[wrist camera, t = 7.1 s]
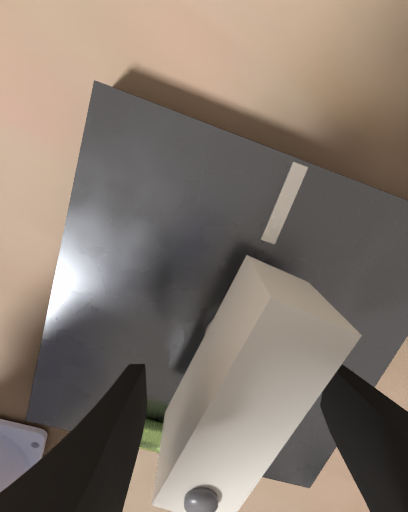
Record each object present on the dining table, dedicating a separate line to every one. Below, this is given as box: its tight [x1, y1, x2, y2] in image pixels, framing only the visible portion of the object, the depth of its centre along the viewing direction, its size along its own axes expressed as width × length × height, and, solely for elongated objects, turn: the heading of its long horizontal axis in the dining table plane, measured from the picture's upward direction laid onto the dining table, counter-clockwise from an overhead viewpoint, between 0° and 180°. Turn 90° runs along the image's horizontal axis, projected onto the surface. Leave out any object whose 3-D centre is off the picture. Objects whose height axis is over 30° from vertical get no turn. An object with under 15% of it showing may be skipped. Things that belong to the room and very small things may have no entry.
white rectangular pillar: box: [152, 255, 362, 512], centre depth 11 cm, size 3×9×6 cm, turn 155°
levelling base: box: [26, 80, 408, 488], centre depth 14 cm, size 18×18×3 cm
